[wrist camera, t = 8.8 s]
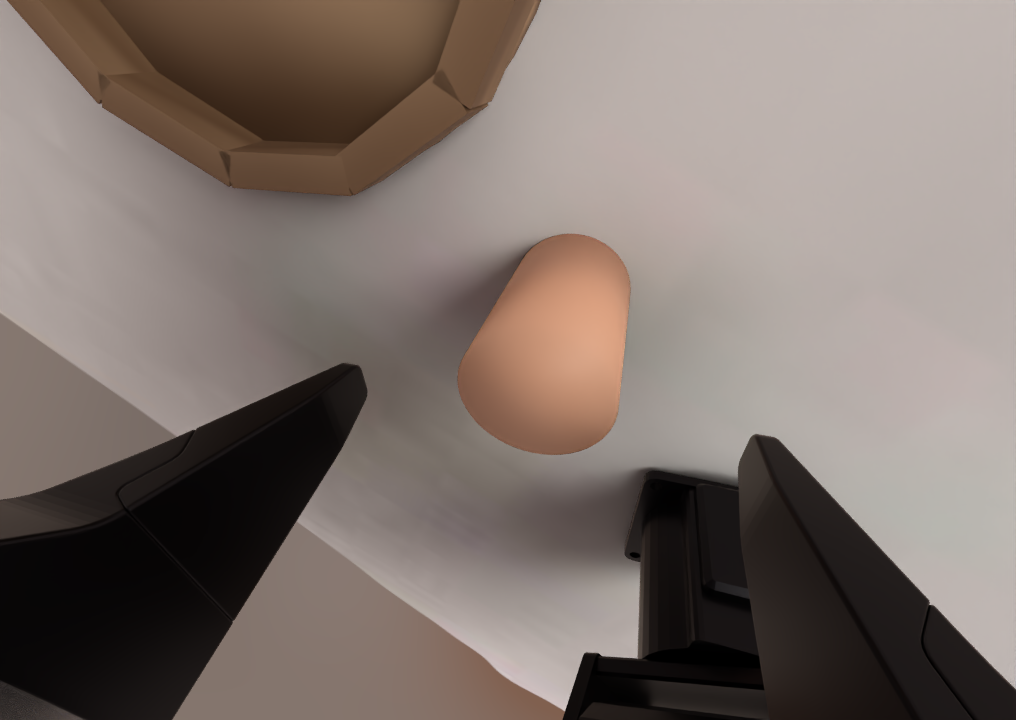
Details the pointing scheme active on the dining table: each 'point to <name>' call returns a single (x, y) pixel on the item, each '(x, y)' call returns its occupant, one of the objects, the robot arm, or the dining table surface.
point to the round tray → (288, 78)
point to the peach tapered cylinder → (552, 349)
